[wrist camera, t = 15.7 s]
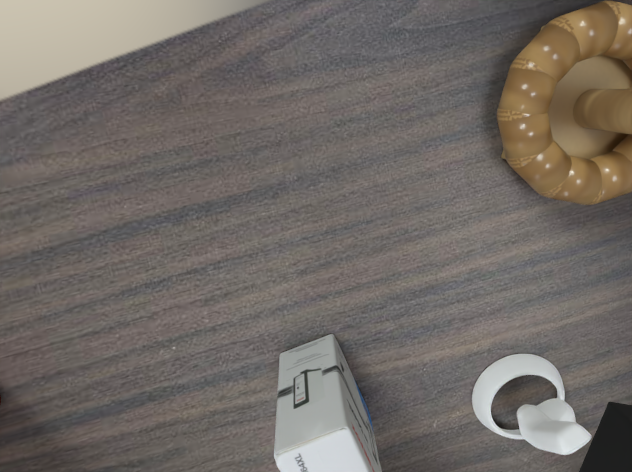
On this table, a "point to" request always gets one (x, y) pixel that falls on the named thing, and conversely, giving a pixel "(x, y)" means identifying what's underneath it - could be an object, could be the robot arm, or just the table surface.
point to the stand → (592, 107)
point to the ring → (535, 98)
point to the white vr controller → (531, 406)
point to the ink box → (321, 413)
